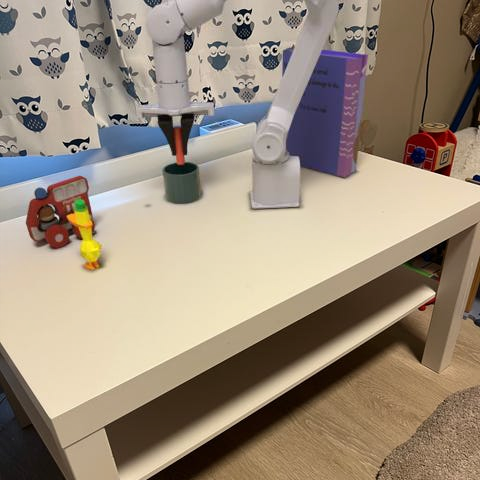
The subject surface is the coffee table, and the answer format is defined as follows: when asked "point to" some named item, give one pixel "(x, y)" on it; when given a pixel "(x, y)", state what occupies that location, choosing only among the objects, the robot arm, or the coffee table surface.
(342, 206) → the coffee table surface
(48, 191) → the toy fire truck
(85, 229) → the toy figure
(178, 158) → the red cylinder
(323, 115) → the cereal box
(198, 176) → the can
